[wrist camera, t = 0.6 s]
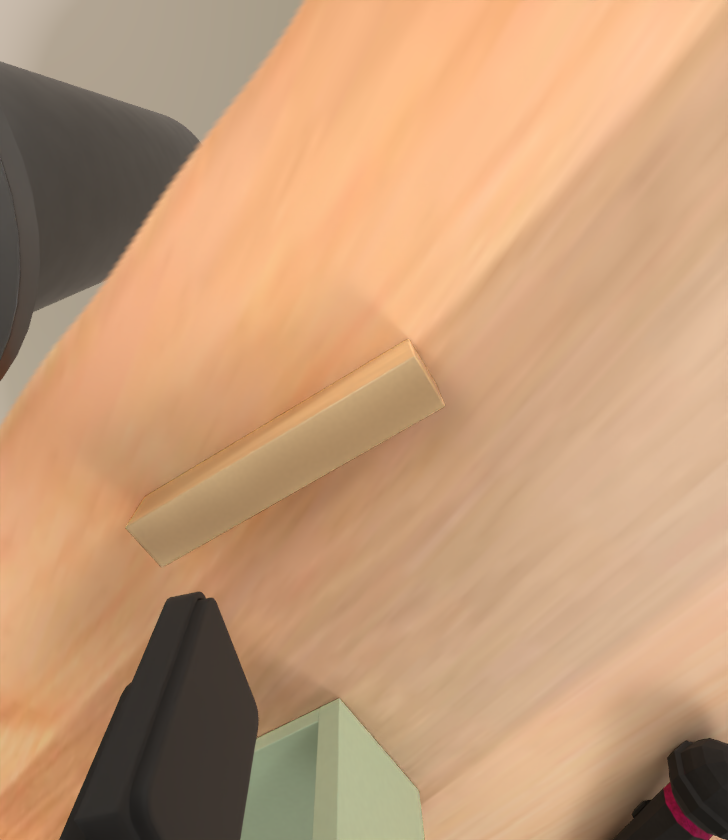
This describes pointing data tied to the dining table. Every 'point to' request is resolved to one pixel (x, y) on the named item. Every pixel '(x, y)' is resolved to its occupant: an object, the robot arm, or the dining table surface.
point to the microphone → (687, 797)
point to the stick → (287, 454)
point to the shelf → (328, 784)
